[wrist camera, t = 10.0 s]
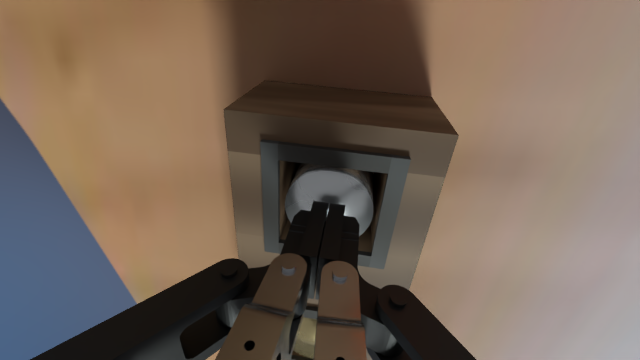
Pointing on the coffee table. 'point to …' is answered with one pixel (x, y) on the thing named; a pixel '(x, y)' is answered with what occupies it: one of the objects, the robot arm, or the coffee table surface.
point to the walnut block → (343, 152)
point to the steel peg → (332, 191)
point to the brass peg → (306, 338)
